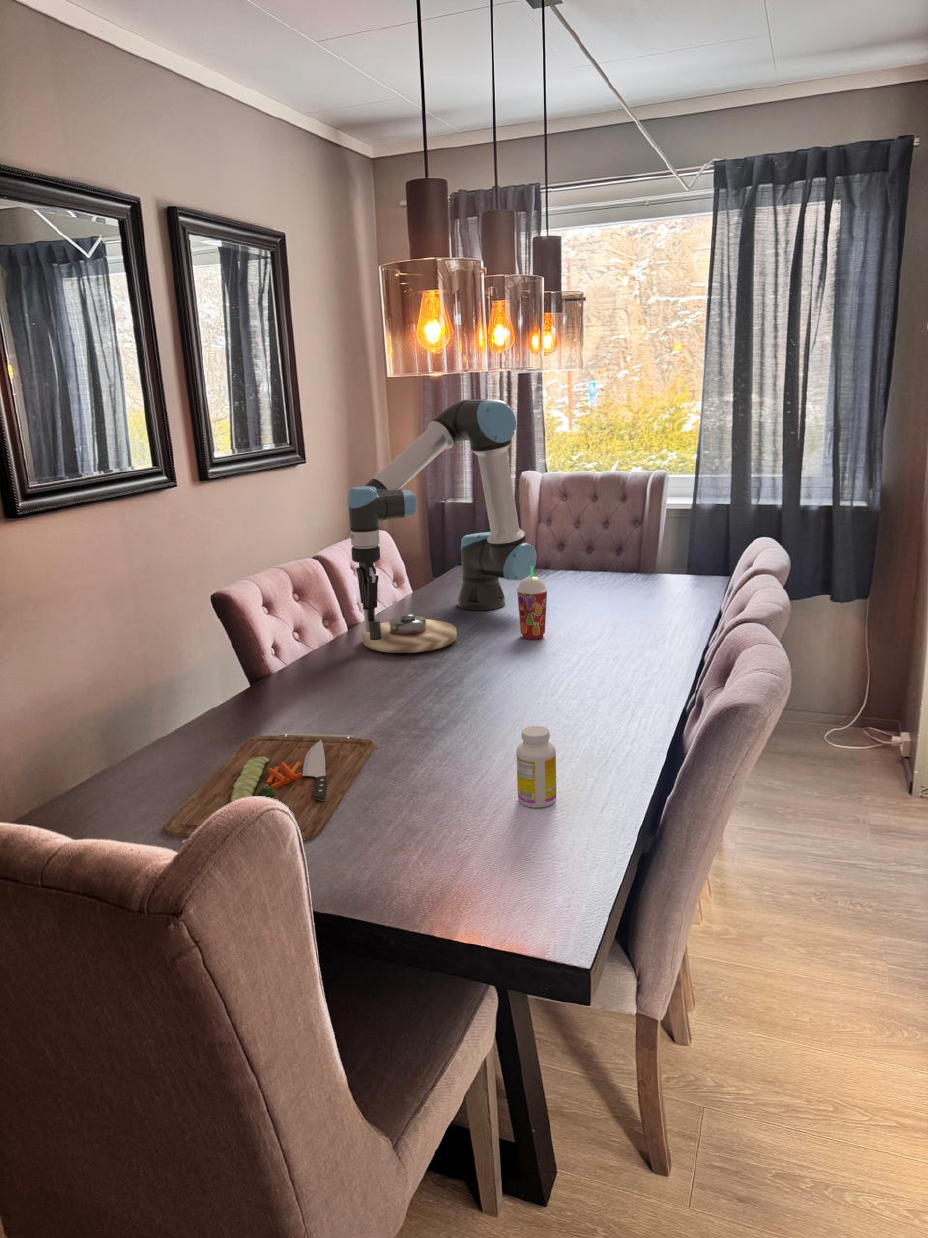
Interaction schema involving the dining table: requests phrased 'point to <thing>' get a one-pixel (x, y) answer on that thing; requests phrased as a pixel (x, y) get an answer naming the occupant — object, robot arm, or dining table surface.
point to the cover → (407, 625)
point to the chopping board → (281, 779)
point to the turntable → (409, 637)
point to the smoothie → (532, 607)
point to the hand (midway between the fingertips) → (370, 631)
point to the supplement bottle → (536, 768)
